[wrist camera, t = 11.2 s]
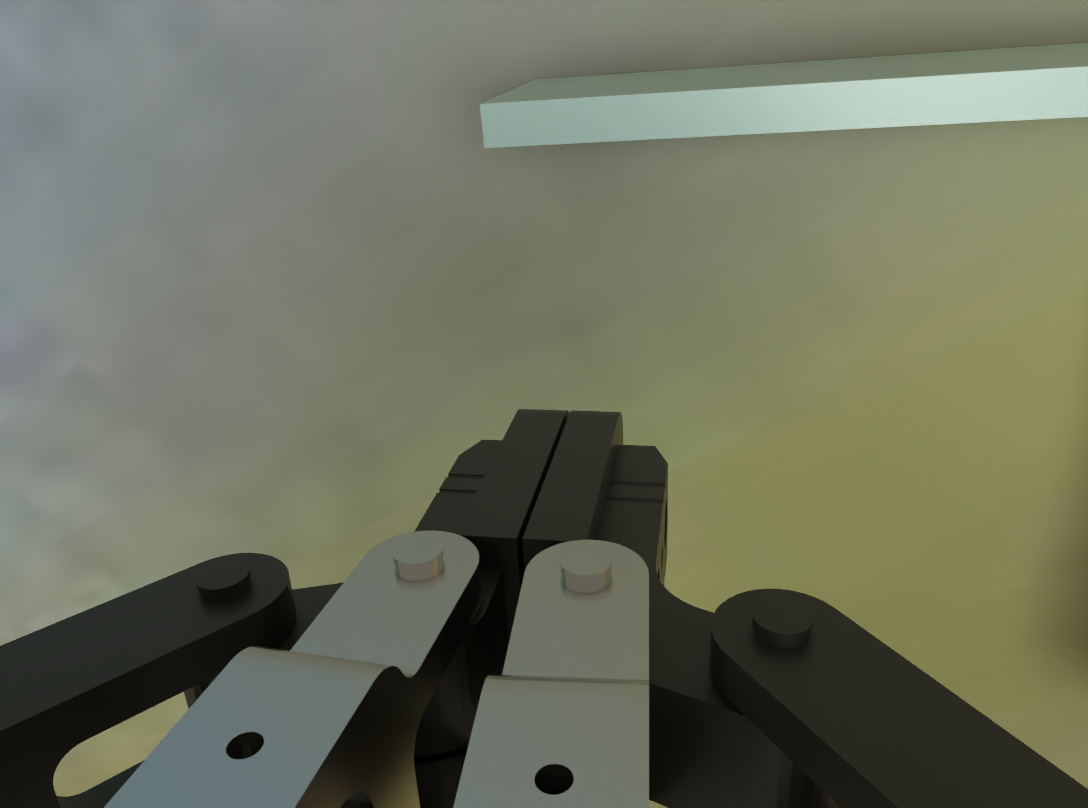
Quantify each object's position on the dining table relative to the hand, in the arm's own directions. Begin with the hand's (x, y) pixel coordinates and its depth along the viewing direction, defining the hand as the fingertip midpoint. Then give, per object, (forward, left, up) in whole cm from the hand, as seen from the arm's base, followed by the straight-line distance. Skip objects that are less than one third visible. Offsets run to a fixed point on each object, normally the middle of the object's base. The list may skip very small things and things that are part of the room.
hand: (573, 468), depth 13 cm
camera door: (+4, -6, -17) cm, 18 cm away
